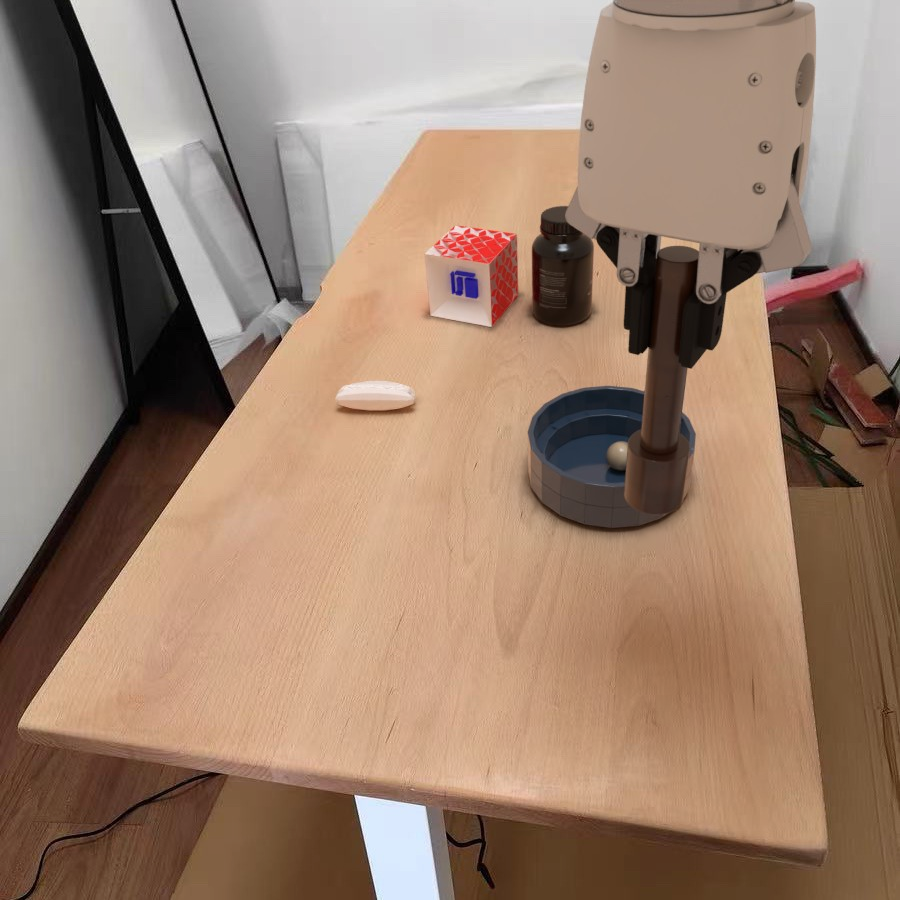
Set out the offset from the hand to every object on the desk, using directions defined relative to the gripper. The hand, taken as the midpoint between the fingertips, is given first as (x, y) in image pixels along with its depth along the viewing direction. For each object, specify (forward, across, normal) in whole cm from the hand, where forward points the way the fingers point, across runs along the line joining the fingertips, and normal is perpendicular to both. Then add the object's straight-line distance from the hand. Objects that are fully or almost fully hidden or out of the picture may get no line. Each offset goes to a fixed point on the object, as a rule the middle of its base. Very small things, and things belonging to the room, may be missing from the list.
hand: (670, 346), depth 47 cm
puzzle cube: (+24, +37, -36) cm, 57 cm away
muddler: (+11, 0, 0) cm, 11 cm away
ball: (+23, +10, -16) cm, 30 cm away
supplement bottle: (+24, +28, -39) cm, 54 cm away
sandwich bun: (+24, +35, -14) cm, 45 cm away
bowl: (+25, +10, -15) cm, 31 cm away
